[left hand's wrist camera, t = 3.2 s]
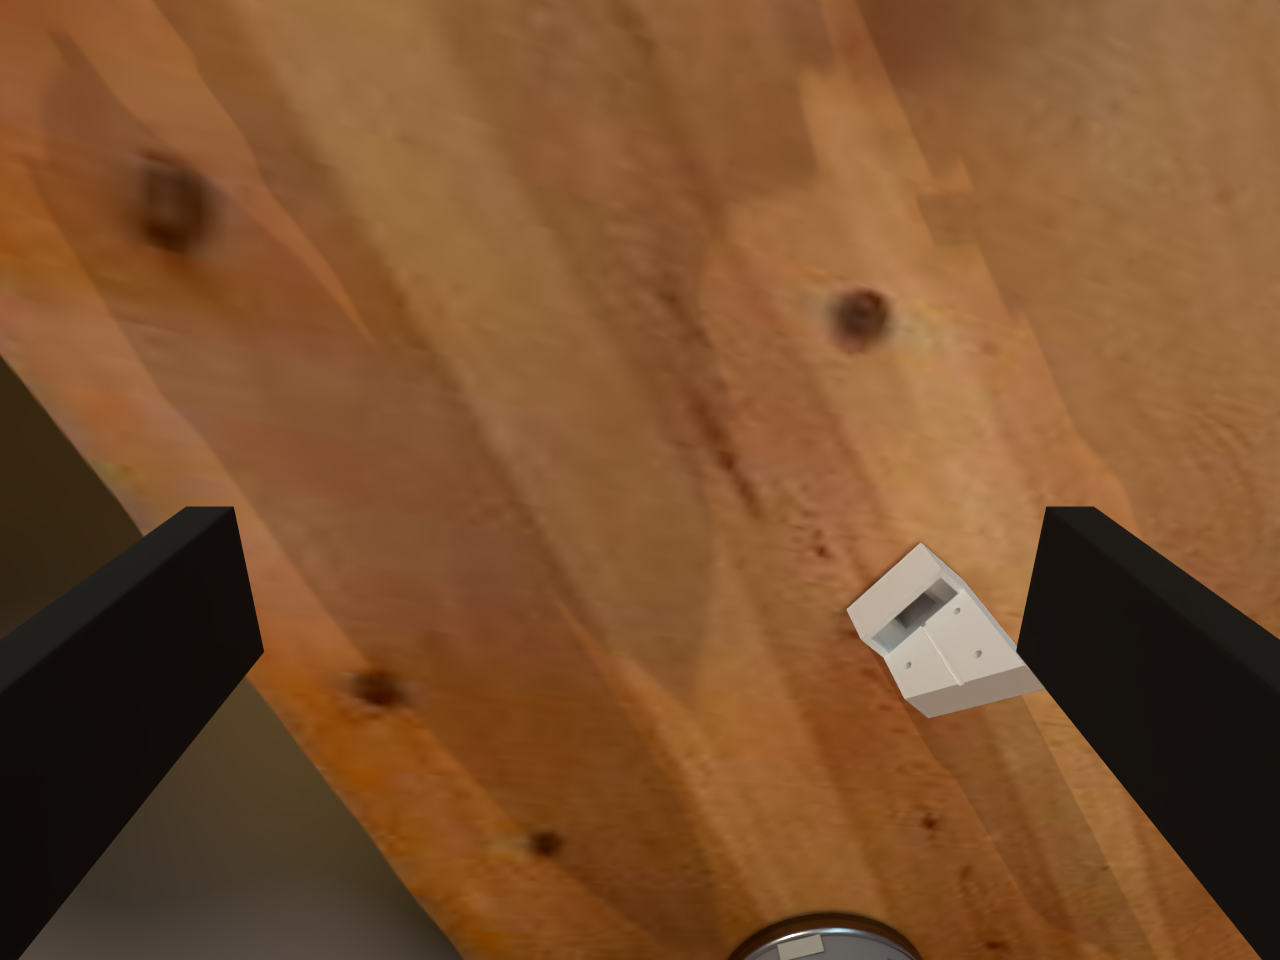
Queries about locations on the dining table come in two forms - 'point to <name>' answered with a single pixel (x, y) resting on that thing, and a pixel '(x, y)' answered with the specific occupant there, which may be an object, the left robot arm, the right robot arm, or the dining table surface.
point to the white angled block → (939, 638)
